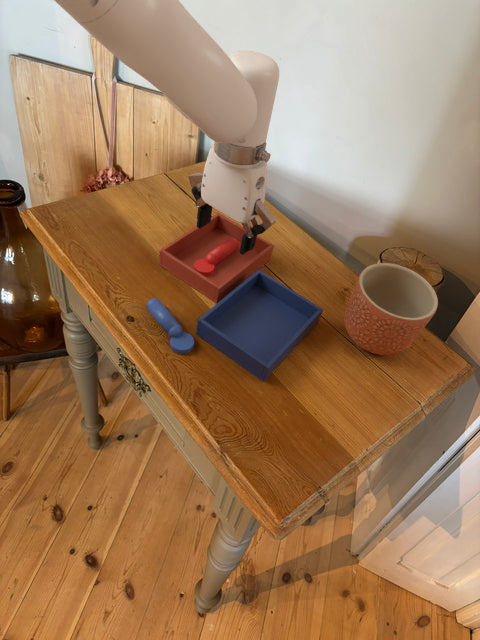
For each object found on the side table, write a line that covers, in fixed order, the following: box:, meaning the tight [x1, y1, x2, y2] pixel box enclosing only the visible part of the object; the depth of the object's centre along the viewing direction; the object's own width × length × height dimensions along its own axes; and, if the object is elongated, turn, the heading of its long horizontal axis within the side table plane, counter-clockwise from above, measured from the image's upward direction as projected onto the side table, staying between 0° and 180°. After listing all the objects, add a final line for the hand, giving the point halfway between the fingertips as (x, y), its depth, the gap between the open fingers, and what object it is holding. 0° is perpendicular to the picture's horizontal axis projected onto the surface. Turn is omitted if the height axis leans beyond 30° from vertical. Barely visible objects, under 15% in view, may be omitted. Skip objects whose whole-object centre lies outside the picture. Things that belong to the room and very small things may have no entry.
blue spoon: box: [146, 297, 195, 355], centre depth 71 cm, size 11×4×2 cm, turn 38°
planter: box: [343, 262, 439, 356], centre depth 74 cm, size 12×12×11 cm
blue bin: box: [195, 269, 324, 382], centre depth 74 cm, size 13×16×4 cm
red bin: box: [158, 212, 275, 304], centre depth 83 cm, size 13×16×4 cm
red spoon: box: [194, 238, 239, 276], centre depth 83 cm, size 11×4×2 cm, turn 143°
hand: (224, 237), depth 81 cm, fingers open, 9 cm apart
